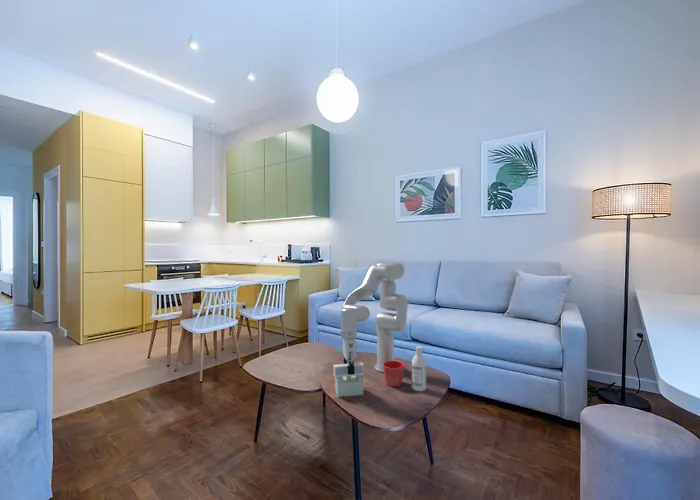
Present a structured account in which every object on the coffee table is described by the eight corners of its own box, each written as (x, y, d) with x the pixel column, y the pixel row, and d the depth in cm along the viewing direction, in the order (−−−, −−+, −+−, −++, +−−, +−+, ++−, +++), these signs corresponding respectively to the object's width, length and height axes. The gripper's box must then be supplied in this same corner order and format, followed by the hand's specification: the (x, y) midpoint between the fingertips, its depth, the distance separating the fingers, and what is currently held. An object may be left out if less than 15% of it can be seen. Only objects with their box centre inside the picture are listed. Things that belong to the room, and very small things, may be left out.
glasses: (362, 373, 152) (362, 362, 152) (363, 375, 149) (363, 364, 149) (333, 375, 149) (333, 364, 149) (334, 377, 146) (334, 366, 146)
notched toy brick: (359, 387, 154) (359, 371, 154) (363, 394, 146) (363, 377, 146) (335, 389, 152) (335, 372, 152) (337, 397, 144) (337, 379, 144)
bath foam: (419, 384, 158) (419, 344, 158) (429, 389, 151) (429, 348, 151) (408, 387, 154) (408, 346, 154) (418, 392, 148) (418, 350, 148)
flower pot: (379, 381, 161) (379, 362, 161) (397, 377, 166) (397, 359, 166) (389, 389, 152) (389, 369, 152) (408, 385, 156) (408, 366, 156)
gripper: (360, 338, 141) (360, 376, 141) (352, 329, 158) (352, 363, 158) (344, 339, 140) (344, 378, 140) (338, 330, 157) (338, 364, 157)
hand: (348, 370), depth 149 cm, fingers open, 9 cm apart
